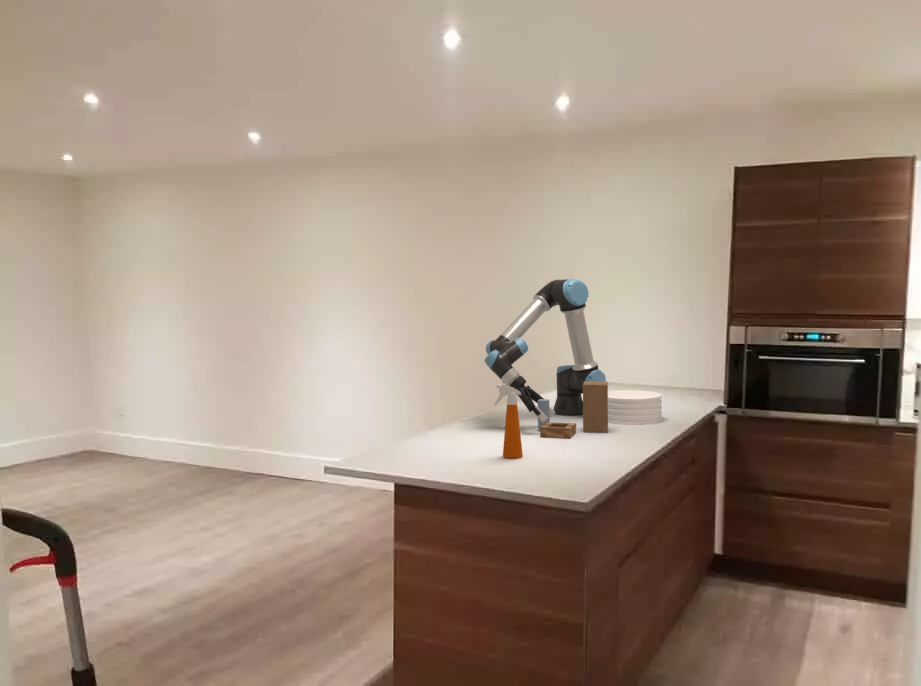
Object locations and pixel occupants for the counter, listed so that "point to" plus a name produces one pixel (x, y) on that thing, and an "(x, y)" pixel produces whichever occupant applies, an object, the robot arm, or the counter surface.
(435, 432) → the counter surface
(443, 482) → the counter surface
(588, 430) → the wooden block
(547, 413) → the tall blue pillar
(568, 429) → the square wooden frame
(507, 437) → the spray bottle
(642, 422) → the plate stack
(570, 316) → the robot arm
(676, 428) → the counter surface
